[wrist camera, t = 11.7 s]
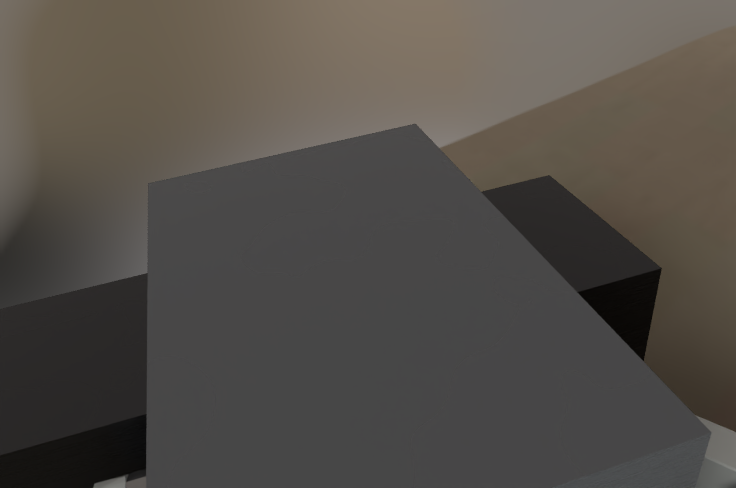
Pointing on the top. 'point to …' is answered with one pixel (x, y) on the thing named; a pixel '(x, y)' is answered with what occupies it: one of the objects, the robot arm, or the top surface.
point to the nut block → (383, 338)
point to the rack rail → (129, 344)
